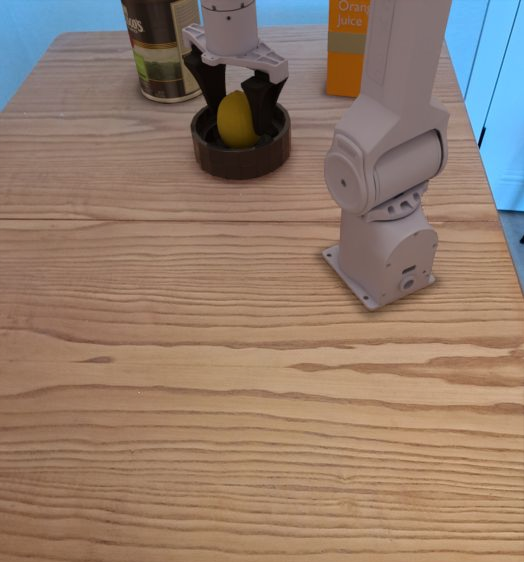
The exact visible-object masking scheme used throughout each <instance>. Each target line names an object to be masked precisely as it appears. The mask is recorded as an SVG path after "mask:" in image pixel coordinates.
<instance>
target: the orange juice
mask: <svg viewBox="0 0 524 562" xmlns="http://www.w3.org/2000/svg"><path fill="white" fill-rule="evenodd" d="M370 1H371V0H328V21H327V22H328V23H327V26H328V27H327V45H326V47H327V48H326V49H327V51H326V52H327V58H326V59H327V60H326V61H327V64H326V67H327V68H326V95H328V96H339V97H349V98H357V97H358V96H359V94H360V88H361V79H362V71H363V62H364V53H365V45H366V36H367V27H368V18H369V10H370Z"/></svg>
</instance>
